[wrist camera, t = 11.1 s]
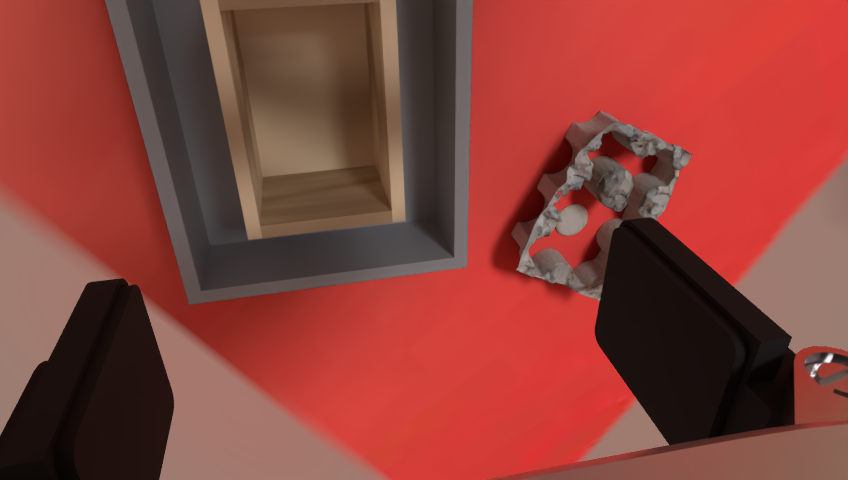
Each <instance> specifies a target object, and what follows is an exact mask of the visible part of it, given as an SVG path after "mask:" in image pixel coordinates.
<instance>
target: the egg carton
mask: <svg viewBox="0 0 848 480" xmlns="http://www.w3.org/2000/svg"><path fill="white" fill-rule="evenodd" d="M610 131H611V134H612V136H613V138H614V139H615V140H616V141H618V142H619V143H620V144H622V145H623V146H624V147H626V148H627V149H629V150H630V151H631V152H633V153H634V154H635V155H636V156H638V157H640V158H642V159H643V158H645V157H647V156H648V154H649V155H656V157H657V158H658V159H657V162H656V164H655V166H654V167H653V168H652V170H651V171H650V172H649V173H640V174H637V175H635V176H633V177H632V175H631V174H630V173H629V171H627V170H626V169H625V168H624V167H623V166H621V165H620V164H619V163H617V162H616V160H615V161H614V159H612V158H610V157H608V156H598V157H596V158H593V159H592V160H590V159H589V158H588V154H587V153H588V152H595V150H596V149H599V148H600V147H601V145H602V143H601V137H602V135H603V134H605V133H608V132H610ZM565 138H566V139H567V140H568V141H569V142H570V144H571V146H572V149H573V154H572V158H571V160H570V162H569V164H568V165H567V166H566V167H565V168H564V169H563V170H562V171H560V172H557V173H554V174H544V175H543V177H542V178H541V180H540V182H539V184H538V186H537V189H538V190H539V191H540V192H541V193H542V194H543V196H544V198H545V204H544V208H543V210H542V212H541V213H540V214H539V215H538V216H537V217H536V218H535V219H533V220H531V221H528V222H518V223H517V224H516V225H515V227H514V229H513V231H512V233H511V236H512V237H513V238H514V239H515V240H516V242H517V243H518V245H519V246H520V250H519V257H520V258H521V259H520V262H519V266H518V268H517V269H516V270H517V271H519V272H522V273H524V274H527V275H529V276H531V277H538V278H541V279H543V280H545V281H547V282H549V283H552V284H554V283H555V282H556V283H560V284H563V285H566V286H567V287H569V288H570V289H572V290H574V291H576V292H578V293H580V294H582V295H584V296H587V297H590V298H594V299H596V300H599V301H600V298H601V292H602V287H603V281H604V276H605V270H606V265H607V259H608V254H609V248H610V243H611V237H612V233H613V231H614V229H616V228H619V226H620V224H621V222H622V221H624V220H629V219H637V218H646V217H652V218H654V219H655V220H657V218H658V217H659V216H660V215H661V214H662V213H663V212H664V211H665V208H666V206H667V203H668V201H669V199H670V196H671V194H672V191H673V187H674V184H675V182H676V181H677V179H678V176H679V170H680V171H681V169H682V168H683V167H684V166H685V165H687V164H688V162H689V161H690V159H691V155H692V154H690V153H688V152H687V151H685V150H684V149H683V148H681V147H679V146H677V145H674V144H673V145H671V144H669V143H667V142H665V141H663V140H662V139H660V138H658V137H657V136H656V135H654V134H652V133H650V132H648V131H646V130H642V132H641V131H639V130H638V129H637V128H636V127H634V126H632V125H629V124H623V123H622V122H620V121H619V120H617V119H616V118H615V117H613V116H612V115H610V114H608V113H606V112H604V111H599V112H598V113H597V114H596V115H595V116H594V117H593V118H592V119H590V120H589V121H587V122H583V123H575V122H573V123H572V124H571V126H570V127H569V129H568V131H567V133H566V135H565ZM582 185H583V186H584V187H585V188H586V189H587V190H588V191H589V192H590V193H591V194H592V195H593V196H594V197H595V198H597V199H598V200H599V201H600V202H601V203H602V204H603V205H604V206H605V207H608V208H610V209H612V210H614V211H618V212H620V211H622V210H623V209H624V208H625V207H626V205H627V204H628V205H627V207H626V208H625V211H624V213H623V216H622V217H621V218H613V219H611V220H608V221H607V222H605V223H604V224H602V225H601V227H600V228H599V229H598V232H597V235H596V241H597V243H598V245H599V247H600V248H601V250H600V252H599V254H598V255H597V257H596V258H595V259H594V260H593V261H585V262H583V263H581V264H579V265H578V266H577V267H576V268H574V269H573V270H572V268H571V266H570V265H569V264H568V263H567V261H566V260H565V259H564V257H563V256H562V255H561V254H560V252H559V251H557V250H555V249H543V250H541V251H539V252H537V253H536V254H535V255H534V256H533V257H532V258H530V256H529V255H528V253H529V248H530V246H531V245H532V244H534V242H535V240H536V239H537V238H542V237H545V236H549V235H550V233H551V232H552V231H553V230H554V228H556V230H557V232H558V233H559V234H561V235H564V236H569V235H574V234H576V233H578V232H579V231H581V230H582V229H583V227H584V226H585V225H586V223H587V219H588V213H587V210H586V209H585V207H584V206H582V205H579V204H573V205H569V206H567V207H565V208H563V209H562V210H561V211H560V212H559V211H558V210H557V209H556V208H555V207H554V206H553V204H554V203H556V202H557V201H559V199H560V197H561V196H566V195H567V193H568V191H569V190H570V189H572V190H578V189H581V187H582ZM560 191H561V196H558V192H560Z"/></svg>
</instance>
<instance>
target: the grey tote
mask: <svg viewBox="0 0 848 480" xmlns="http://www.w3.org/2000/svg"><path fill="white" fill-rule="evenodd" d="M105 3H106V6H107V10H108V14H109V17H110V21H111V25H112V28H113V32H114V35H115V39H116V43H117V46H118V50H119V54H120V57H121V61H122V64H123V68H124V72H125V75H126V79H127V83H128V86H129V90H130V93H131V97H132V101H133V104H134V108H135V112H136V115H137V119H138V122H139V126H140V130H141V133H142V137H143V140H144V144H145V148H146V151H147V155H148V159H149V162H150V166H151V169H152V173H153V177H154V180H155V184H156V188H157V191H158V195H159V198H160V202H161V206H162V209H163V213H164V217H165V220H166V224H167V227H168V231H169V235H170V238H171V242H172V245H173V249H174V253H175V256H176V260H177V264H178V267H179V271H180V274H181V278H182V282H183V285H184V289H185V293H186V296H187V300H188V303H189V305H192V304H199V303H206V302H214V301H221V300H229V299H236V298H243V297H251V296H258V295H265V294H273V293H280V292H288V291H295V290H302V289H310V288H317V287H325V286H332V285H339V284H347V283H354V282H362V281H369V280H376V279H384V278H391V277H398V276H406V275H413V274H421V273H428V272H435V271H443V270H450V269H458V268H465V267H467V248H468V202H469V156H470V110H471V64H472V18H473V0H396V14H397V37H398V60H399V83H400V106H401V129H402V151H403V174H404V197H405V220H406V221H400V222H392V223H383V224H375V225H367V226H359V227H351V228H342V229H334V230H326V231H318V232H310V233H301V234H293V235H285V236H277V237H269V238H260V239H252V240H248V236H247V231H246V226H245V221H244V216H243V211H242V206H241V201H240V197H239V192H238V187H237V182H236V177H235V172H234V167H233V162H232V157H231V152H230V147H229V142H228V137H227V132H226V128H225V123H224V118H223V113H222V108H221V103H220V98H219V93H218V88H217V83H216V78H215V73H214V68H213V63H212V58H211V54H210V49H209V44H208V39H207V34H206V29H205V24H204V19H203V14H202V9H201V4H200V0H105Z"/></svg>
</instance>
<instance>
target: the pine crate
mask: <svg viewBox="0 0 848 480" xmlns="http://www.w3.org/2000/svg"><path fill="white" fill-rule="evenodd" d="M200 4H201V9H202V14H203V19H204V24H205V29H206V34H207V39H208V44H209V49H210V54H211V58H212V63H213V68H214V73H215V78H216V83H217V88H218V93H219V98H220V103H221V108H222V113H223V118H224V123H225V128H226V132H227V137H228V142H229V147H230V152H231V157H232V162H233V167H234V172H235V177H236V182H237V187H238V192H239V197H240V201H241V206H242V211H243V216H244V221H245V226H246V231H247V236H248V240H252V239H260V238H269V237H277V236H285V235H293V234H301V233H310V232H318V231H326V230H334V229H342V228H351V227H359V226H367V225H375V224H383V223H392V222H400V221H406V220H405V197H404V174H403V151H402V129H401V106H400V83H399V60H398V37H397V14H396V0H200Z"/></svg>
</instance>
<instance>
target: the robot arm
mask: <svg viewBox="0 0 848 480" xmlns="http://www.w3.org/2000/svg"><path fill="white" fill-rule="evenodd" d="M595 336H596V340H597V343H598V344H599V346H600V348H601V349H602V350H603V352H604V353H605V355H606V356H607V358H608V359H609V360H610V362H611V363H612V365H613V366H614V367H615V369H616V370H617V372H618V373H619V374H620V376H621V377H622V379H623V380H624V382H625V383H626V384H627V386H628V387H629V389H630V390H631V391H632V393H633V394H634V396H635V397H636V398H637V400H638V401H639V403H640V404H641V405H642V407H643V408H644V410H645V411H646V413H647V414H648V415H649V417H650V418H651V420H652V421H653V422H654V424H655V425H656V426H657V428H658V430H659V431H660V432H661V434H662V435H663V437H664V438H665V439H666V441H667V442H668V444H669V445H668V446H663V447H657V448H652V449H647V450H642V451H636V452H631V453H625V454H620V455H614V456H609V457H604V458H598V459H593V460H588V461H582V462H577V463H572V464H566V465H561V466H556V467H551V468H545V469H540V470H535V471H530V472H525V473H519V474H514V475H509V476H504V477H499V478H493V479H488V480H848V352H847V351H844V350H841V349H837V348H832V347H826V346H825V347H823V346H820V347H819V346H812V347H808V348H804V349H802V350H801V351H799V352H798V353H797V354H795V353H794V352H793V351H792V350H790V349H789V348H788V346H789V343H790V341H791V338H792V337H791V336H790V335H789V334H787V333H786V332H785V331H784V330H783V329H782V328H780V327H779V326H778V325H777V324H776V323H775V322H773V321H772V320H771V319H770V318H769V317H768V316H766V315H765V314H764V313H763V312H762V311H761V310H760V309H758V308H757V307H756V306H755V305H754V304H753V303H751V302H750V301H749V300H748V299H747V298H746V297H744V296H743V295H742V294H741V293H740V292H739V291H738V290H736V289H735V288H734V287H733V286H732V285H731V284H729V283H728V282H727V281H726V280H725V279H724V278H722V277H721V276H720V275H719V274H718V273H717V272H716V271H714V270H713V269H712V268H711V267H710V266H709V265H707V264H706V263H705V262H704V261H703V260H702V259H700V258H699V257H698V256H697V255H696V254H695V253H693V252H692V251H691V250H690V249H689V248H688V247H687V246H685V245H684V244H683V243H682V242H681V241H680V240H678V239H677V238H676V237H675V236H674V235H673V234H671V233H670V232H669V231H668V230H667V229H666V228H664V227H663V226H662V225H661V224H660V223H659V222H658V221H656V220H655V219H654V218H652V217H646V218H637V219H629V220H624V221H622V222H621V224H620V226H619V228H616V229H614V231H613V233H612V237H611V243H610V248H609V254H608V259H607V265H606V270H605V276H604V281H603V287H602V292H601V298H600V303H599V309H598V314H597V320H596V325H595ZM173 410H174V398H173V393H172V389H171V386H170V383H169V380H168V377H167V373H166V370H165V367H164V364H163V360H162V357H161V355H160V351H159V348H158V345H157V342H156V338H155V335H154V332H153V329H152V326H151V323H150V319H149V316H148V313H147V310H146V307H145V304H144V300H143V297H142V294H141V291H140V289H139V287H138V286H137V285H130V286H129V285H128V283H127V282H126V280H125V279H123V278H122V279H113V280H105V281H96V282H90V283H88V284H87V285H86V287H85V289H84V290H83V292H82V294H81V296H80V298H79V300H78V302H77V304H76V306H75V308H74V310H73V312H72V314H71V316H70V318H69V320H68V322H67V324H66V326H65V328H64V330H63V332H62V334H61V336H60V338H59V340H58V342H57V344H56V346H55V348H54V350H53V352H52V354H51V356H50V358H49V360H48V361H44V362H42V363H40V364H39V365H38V366H37V368H36V369H35V371H34V372H33V374H32V376H31V378H30V380H29V382H28V384H27V386H26V387H25V389H24V391H23V393H22V395H21V397H20V399H19V401H18V403H17V405H16V407H15V409H14V410H13V412H12V414H11V417H10V418H9V420H8V422H7V424H6V426H5V428H4V430H3V432H2V434H1V435H0V480H159V477H160V473H161V468H162V464H163V459H164V454H165V449H166V444H167V440H168V434H169V430H170V425H171V420H172V416H173Z"/></svg>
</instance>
